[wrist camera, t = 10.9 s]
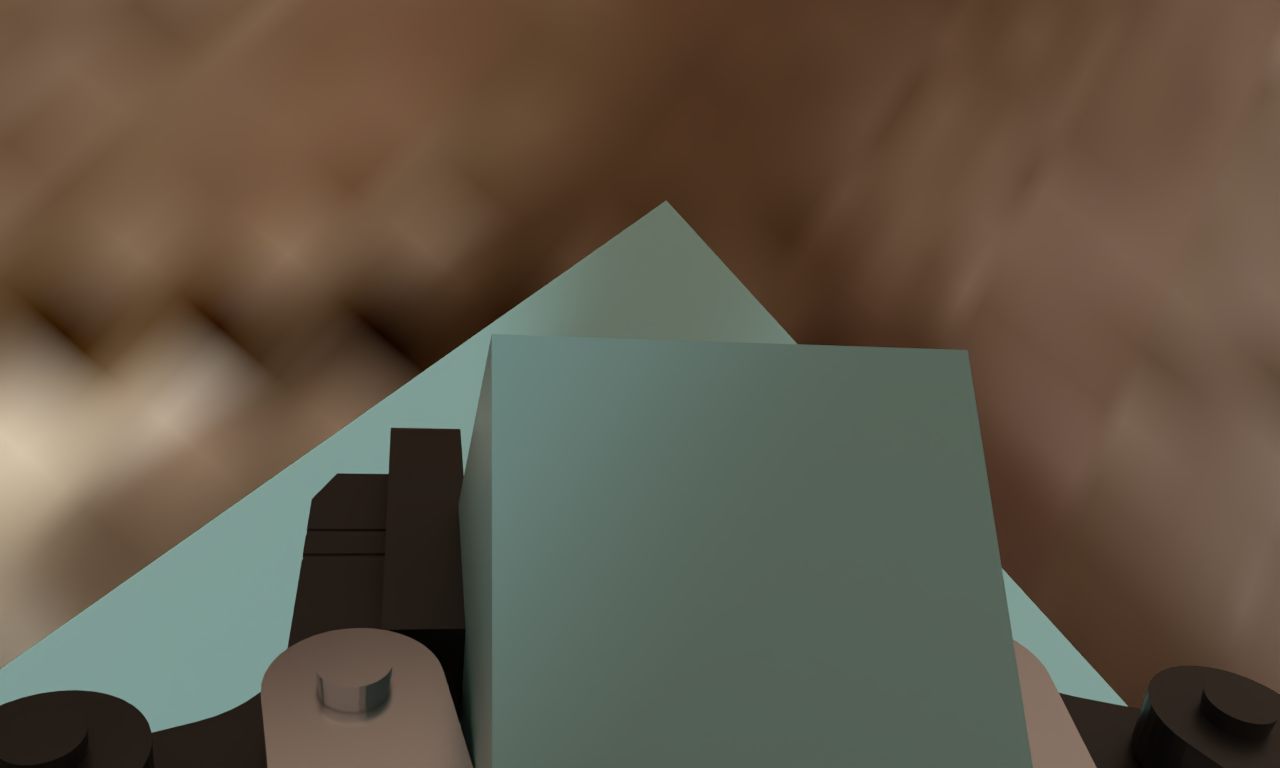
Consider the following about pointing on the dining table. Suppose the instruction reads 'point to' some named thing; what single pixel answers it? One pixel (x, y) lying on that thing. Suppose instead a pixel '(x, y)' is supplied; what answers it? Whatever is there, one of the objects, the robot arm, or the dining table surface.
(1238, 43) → the dining table surface
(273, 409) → the dining table surface
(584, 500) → the lid
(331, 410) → the dining table surface
